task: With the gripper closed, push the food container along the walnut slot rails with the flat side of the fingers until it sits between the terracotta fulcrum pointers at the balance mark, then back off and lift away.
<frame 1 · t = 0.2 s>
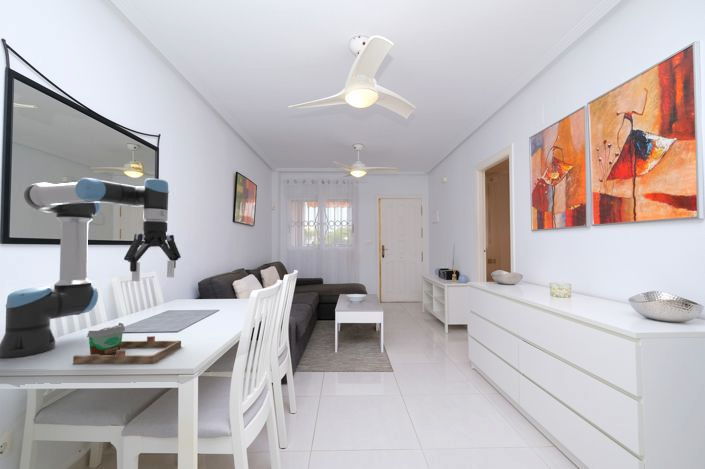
hand: (154, 279, 113), 28 cm above the table, fingers open, 13 cm apart
food container: (110, 355, 112), on the table
slot rails: (129, 354, 112), on the table
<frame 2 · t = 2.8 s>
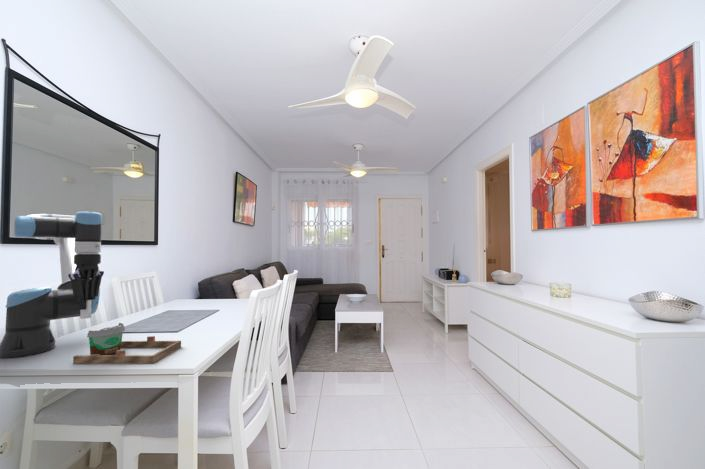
hand: (85, 317, 112), 13 cm above the table, fingers closed
nothing on the table moved.
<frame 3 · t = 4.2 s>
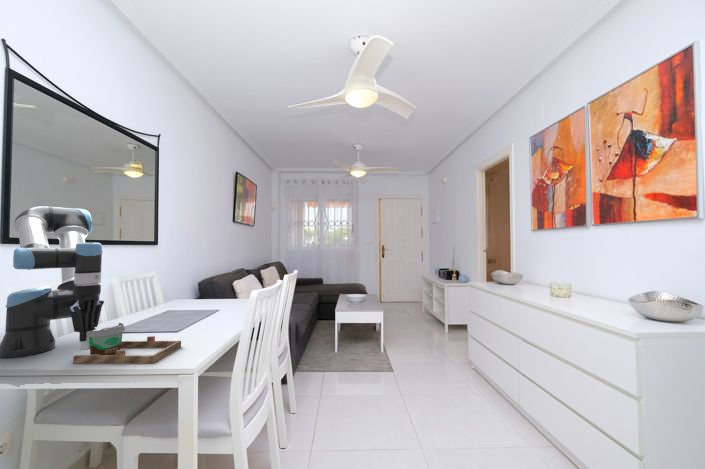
hand: (85, 349, 112), 2 cm above the table, fingers closed
nothing on the table moved.
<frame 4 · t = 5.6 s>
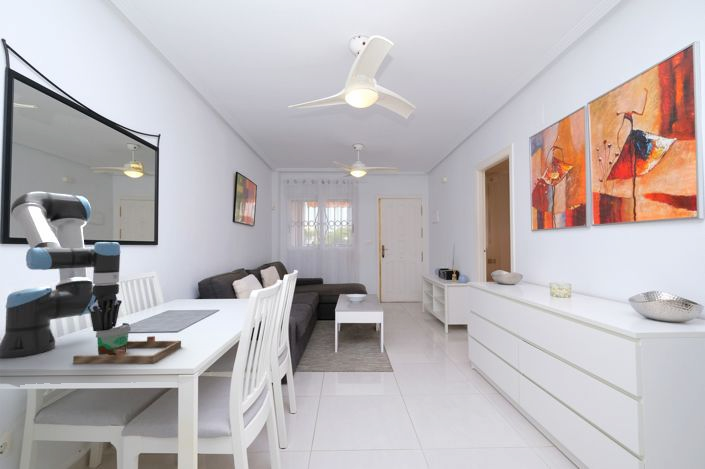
hand: (104, 348, 112), 2 cm above the table, fingers closed
food container: (117, 355, 112), on the table, touching gripper
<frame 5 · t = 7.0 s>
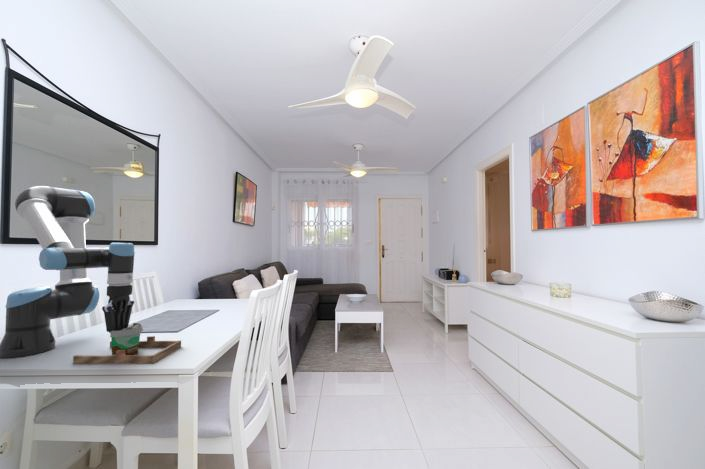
hand: (116, 349, 112), 2 cm above the table, fingers closed
food container: (130, 354, 113), on the table, touching gripper
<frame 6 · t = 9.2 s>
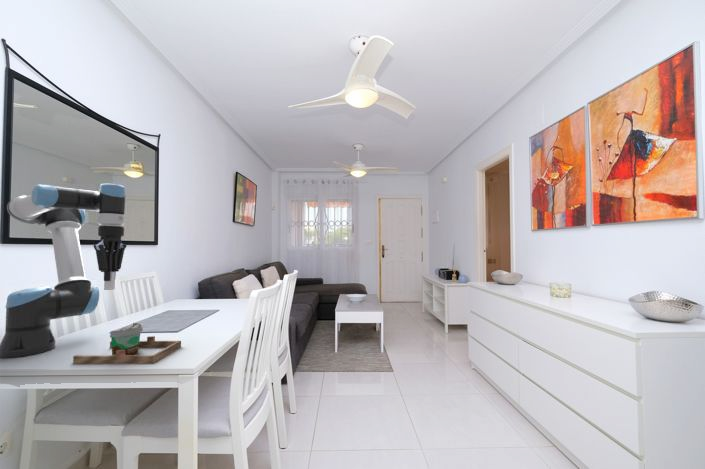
hand: (109, 289, 113), 24 cm above the table, fingers closed
food container: (130, 354, 113), on the table
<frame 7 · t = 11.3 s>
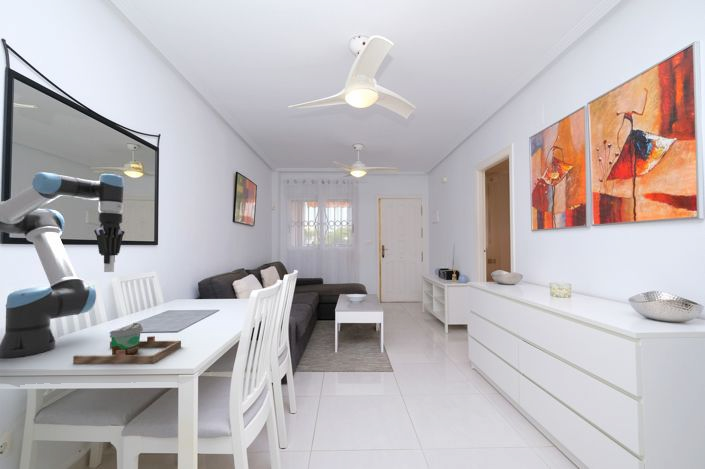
hand: (108, 271, 123), 29 cm above the table, fingers closed
nothing on the table moved.
at the end: food container inside the target area on the slot rails (2.7 cm from its centre), point 0.0 cm above the slot rails's base; food container moved 7.0 cm from its start; food container tilted 0° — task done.
